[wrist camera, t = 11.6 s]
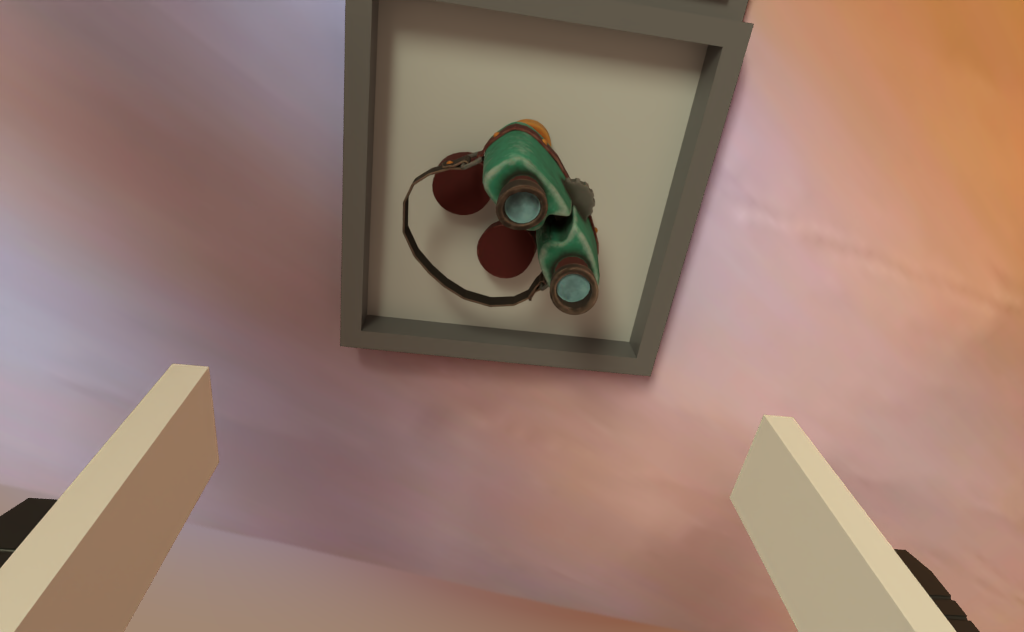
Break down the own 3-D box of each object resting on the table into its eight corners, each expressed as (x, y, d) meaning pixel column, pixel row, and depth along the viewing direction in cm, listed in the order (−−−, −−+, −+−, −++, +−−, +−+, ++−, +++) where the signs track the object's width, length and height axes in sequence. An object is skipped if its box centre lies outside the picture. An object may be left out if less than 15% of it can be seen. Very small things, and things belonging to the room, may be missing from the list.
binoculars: (341, 255, 25) (546, 131, 22) (394, 179, 34) (544, 84, 31) (459, 400, 29) (648, 310, 26) (478, 297, 38) (620, 222, 35)
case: (364, -425, 23) (352, -470, 21) (828, -316, 25) (862, -346, 23) (348, 326, 38) (340, 346, 36) (641, 355, 40) (650, 376, 38)
